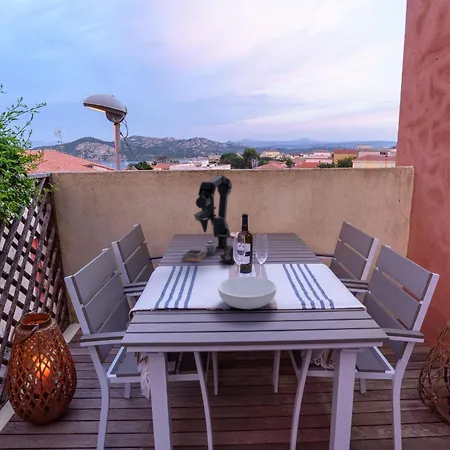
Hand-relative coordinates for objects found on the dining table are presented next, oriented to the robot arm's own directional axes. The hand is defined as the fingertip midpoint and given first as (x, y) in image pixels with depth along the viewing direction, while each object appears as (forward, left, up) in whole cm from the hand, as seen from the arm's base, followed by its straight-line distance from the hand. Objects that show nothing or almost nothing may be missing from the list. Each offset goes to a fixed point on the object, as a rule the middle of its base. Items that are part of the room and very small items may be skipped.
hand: (209, 233), depth 185 cm
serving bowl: (+58, +32, -12) cm, 68 cm away
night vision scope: (+8, +13, -12) cm, 19 cm away
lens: (-2, -1, -12) cm, 12 cm away
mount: (+8, -7, -12) cm, 16 cm away
